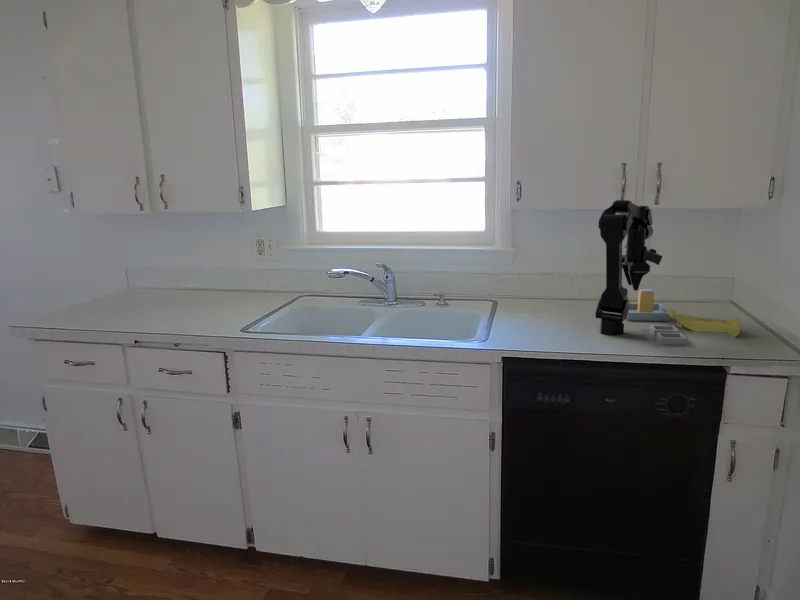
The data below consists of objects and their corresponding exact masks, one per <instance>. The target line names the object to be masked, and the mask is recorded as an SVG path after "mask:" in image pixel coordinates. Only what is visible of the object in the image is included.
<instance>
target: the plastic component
mask: <svg viewBox="0 0 800 600" xmlns="http://www.w3.org/2000/svg"><path fill="white" fill-rule="evenodd" d="M668 311H669V315H670V319H673V320H677V322H676V325H677V327H679V328H685V329H688V330H690V331H692V332H699V333H700V332H715V333H716V332H718V333H729V334H730V335H731V336H732V337H734V338H736V337H737V336H739V334H740V319H741V318H740V317H739V316H736V317H734V318H732V319H730V320H729V319H728V320H725V319H715V318H707V317H699V316H698V317H697V316H694V315H689V314H685V313H676V311H675V309H669V310H668Z"/></svg>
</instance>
